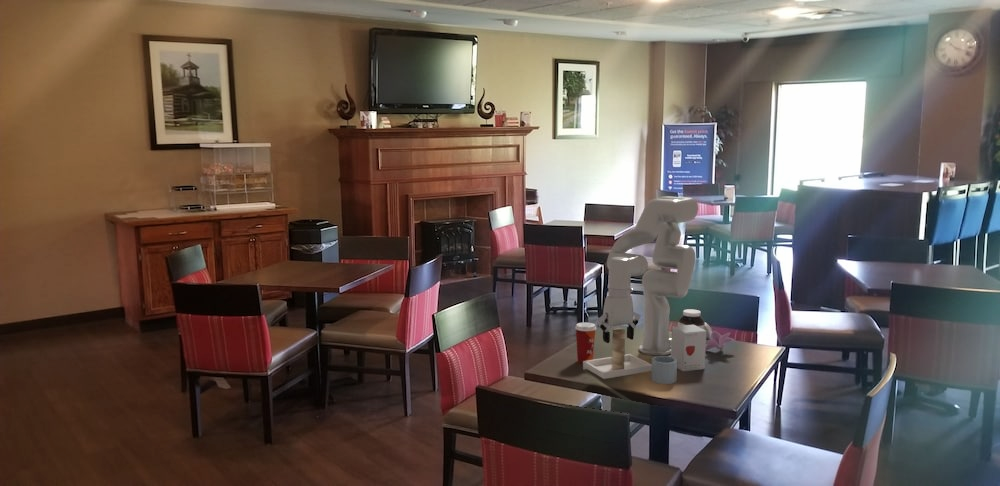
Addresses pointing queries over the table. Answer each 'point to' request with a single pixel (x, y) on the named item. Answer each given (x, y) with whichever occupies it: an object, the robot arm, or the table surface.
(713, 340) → the lily
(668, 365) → the cup
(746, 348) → the table surface
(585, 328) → the paper cup
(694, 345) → the supplement box
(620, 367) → the dowel
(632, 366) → the tray
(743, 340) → the table surface
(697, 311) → the spread jar
